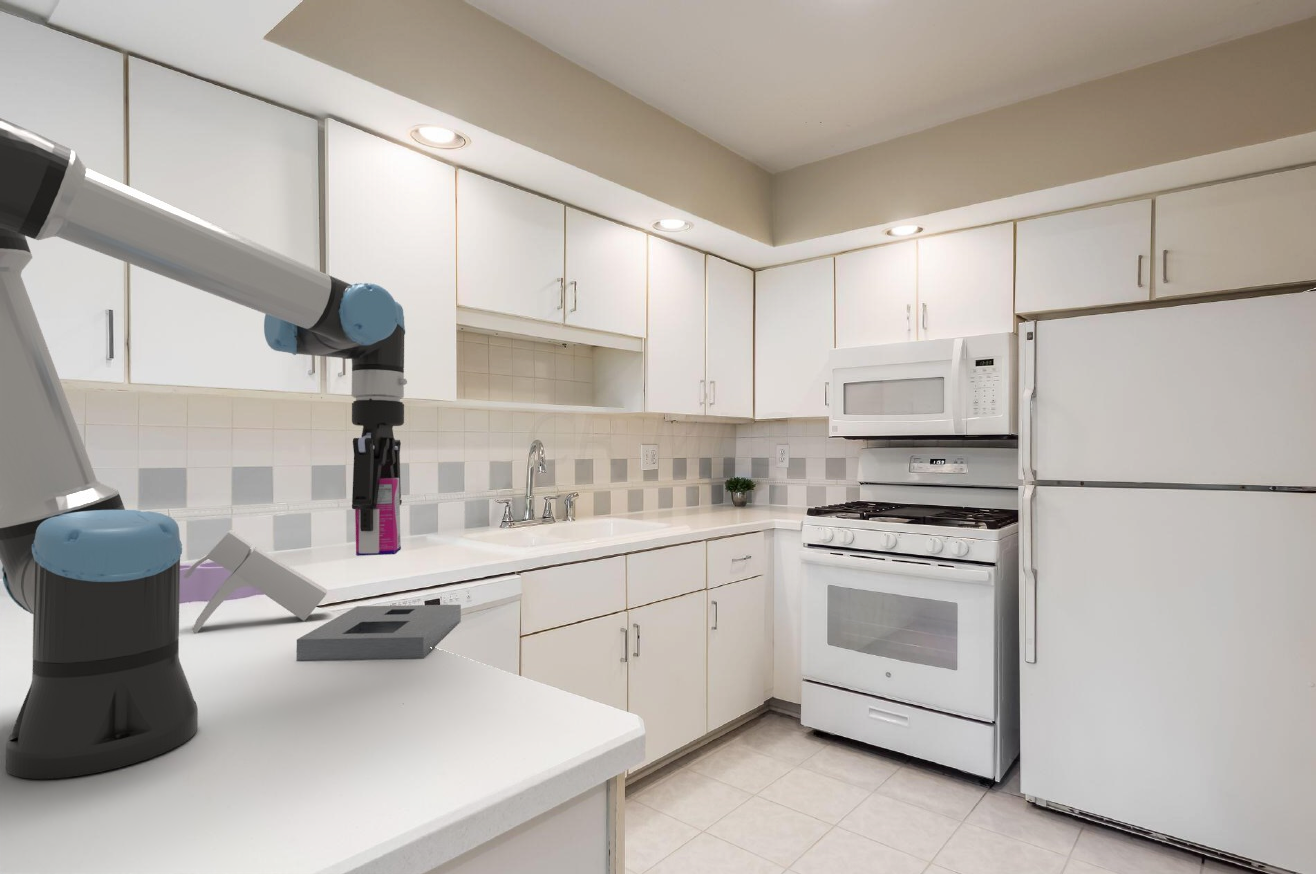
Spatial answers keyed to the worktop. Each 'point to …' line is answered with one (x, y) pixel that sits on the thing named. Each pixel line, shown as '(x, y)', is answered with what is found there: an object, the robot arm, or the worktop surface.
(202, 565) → the clip
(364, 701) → the worktop surface
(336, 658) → the socket plate
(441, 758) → the worktop surface
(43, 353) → the robot arm
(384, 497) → the supplement box
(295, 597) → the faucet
